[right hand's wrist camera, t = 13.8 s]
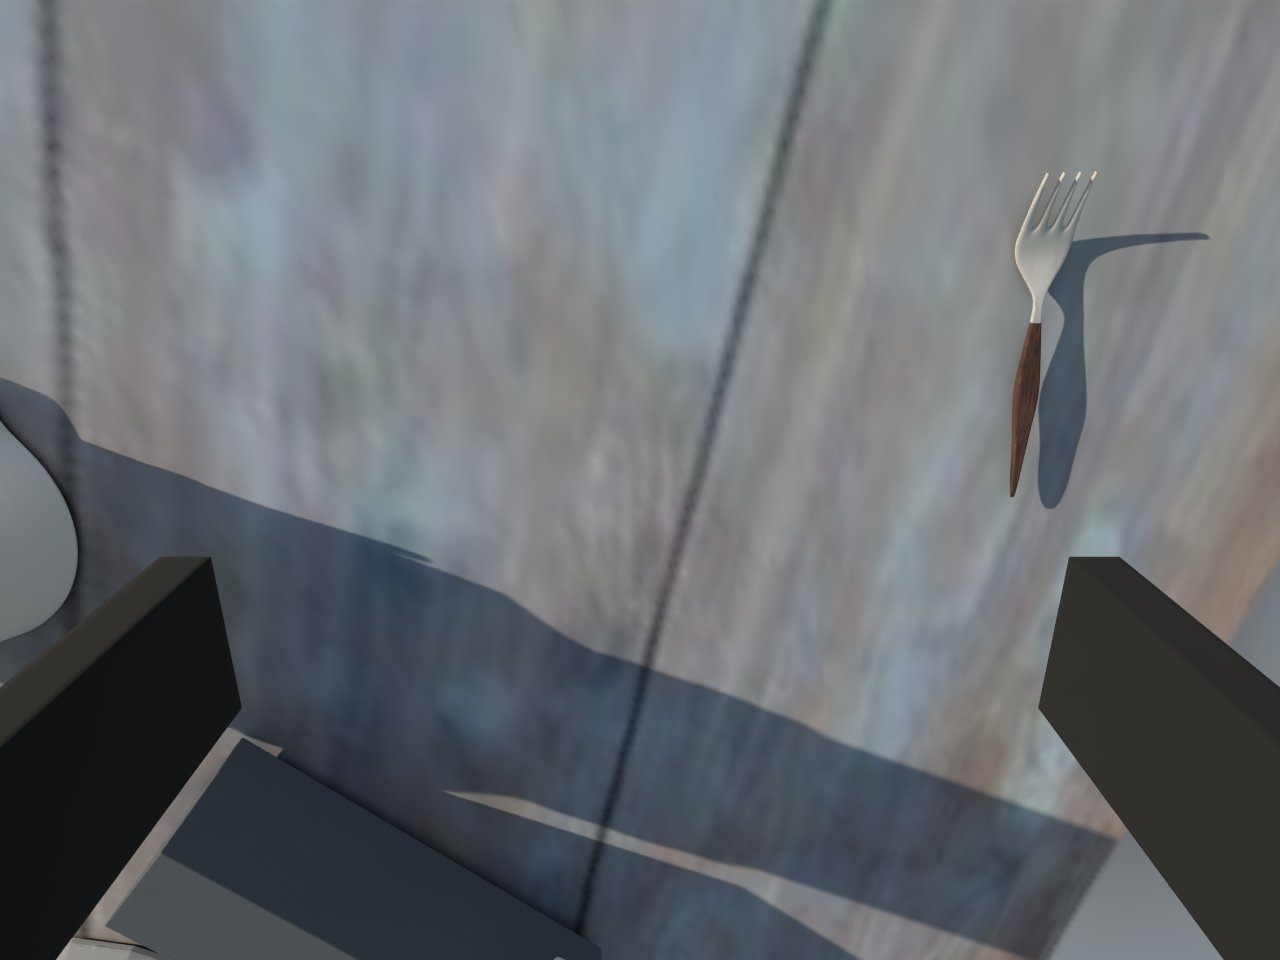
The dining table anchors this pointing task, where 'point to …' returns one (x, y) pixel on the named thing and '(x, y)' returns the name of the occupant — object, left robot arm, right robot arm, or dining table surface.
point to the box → (318, 883)
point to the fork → (1038, 305)
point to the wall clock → (105, 951)
